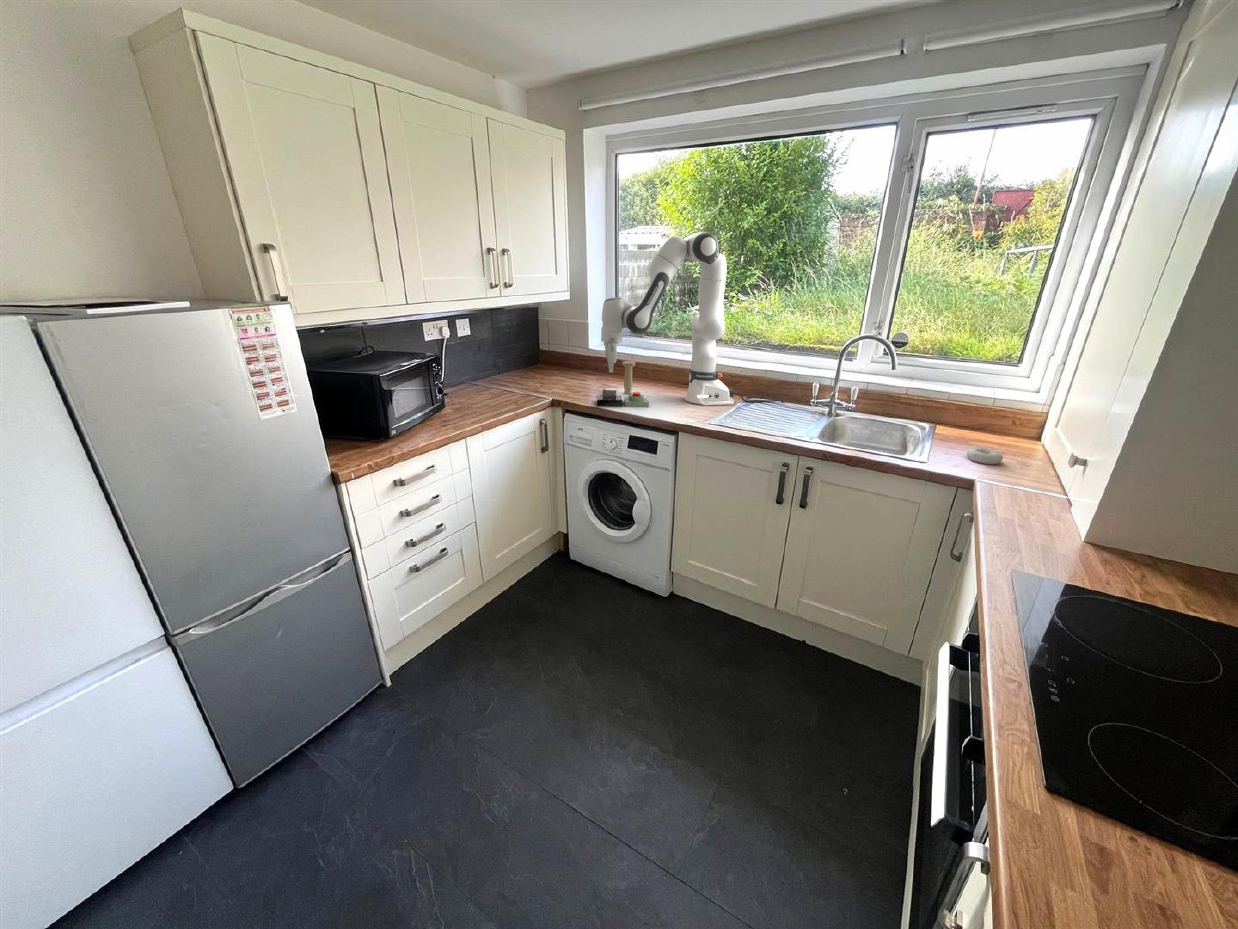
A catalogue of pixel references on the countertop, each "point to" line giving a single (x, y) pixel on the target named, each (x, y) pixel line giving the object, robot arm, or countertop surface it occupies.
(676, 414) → the countertop surface
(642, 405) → the switch block
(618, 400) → the hob panel
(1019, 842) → the countertop surface
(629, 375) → the handle
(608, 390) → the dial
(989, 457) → the donut
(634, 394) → the button
